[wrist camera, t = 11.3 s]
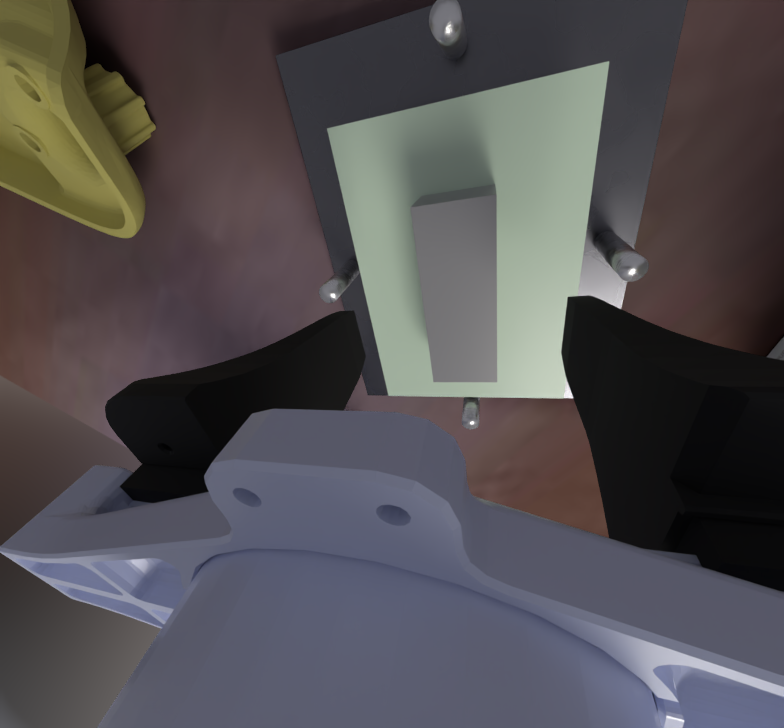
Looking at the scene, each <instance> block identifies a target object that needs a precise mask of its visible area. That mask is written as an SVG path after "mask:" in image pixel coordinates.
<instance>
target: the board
mask: <svg viewBox="0 0 784 728" xmlns="http://www.w3.org/2000/svg"><path fill="white" fill-rule="evenodd" d="M608 68H609V61H608V62H603V63H599V64H595V65H591V66H587V67H583V68H578V69H574V70H570V71H566V72H562V73H557V74H553V75H549V76H545V77H541V78H536V79H532V80H528V81H524V82H520V83H515V84H511V85H507V86H503V87H499V88H495V89H490V90H486V91H482V92H478V93H474V94H469V95H465V96H461V97H457V98H453V99H448V100H444V101H440V102H436V103H432V104H427V105H423V106H419V107H415V108H411V109H407V110H402V111H398V112H394V113H390V114H386V115H381V116H377V117H373V118H369V119H365V120H360V121H356V122H352V123H348V124H344V125H339V126H335V127H331V128H327V131H328V135H329V140H330V144H331V148H332V153H333V157H334V161H335V166H336V170H337V174H338V179H339V183H340V187H341V192H342V196H343V200H344V205H345V209H346V213H347V218H348V222H349V226H350V231H351V235H352V239H353V244H354V248H355V252H356V257H357V261H358V266H359V270H360V274H361V279H362V283H363V287H364V292H365V296H366V300H367V305H368V309H369V313H370V318H371V322H372V326H373V331H374V335H375V339H376V344H377V348H378V352H379V357H380V361H381V365H382V370H383V374H384V378H385V383H386V387H387V391H388V396H435V397H505V398H564V393H565V385H566V376H565V371H564V366H563V360H562V355H561V349H562V340H563V332H564V323H565V315H566V307H567V298H568V297H571V296H578V289H579V282H580V275H581V267H582V260H583V253H584V245H585V238H586V230H587V223H588V216H589V208H590V201H591V194H592V186H593V179H594V171H595V164H596V157H597V149H598V142H599V135H600V127H601V120H602V112H603V105H604V98H605V90H606V83H607V76H608Z"/></svg>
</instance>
